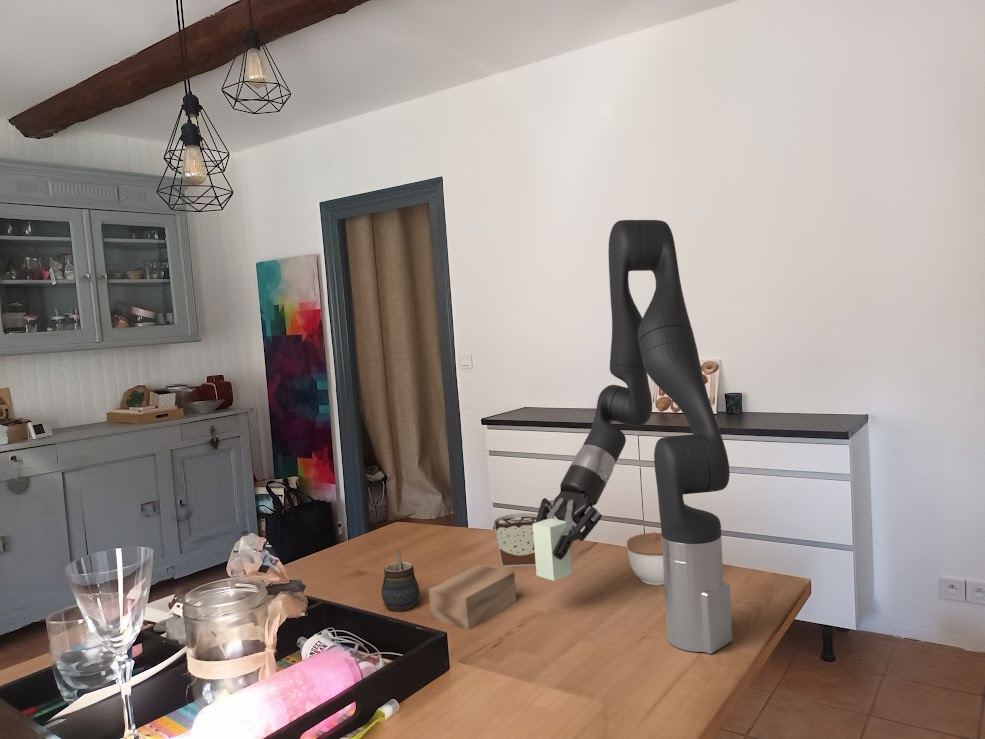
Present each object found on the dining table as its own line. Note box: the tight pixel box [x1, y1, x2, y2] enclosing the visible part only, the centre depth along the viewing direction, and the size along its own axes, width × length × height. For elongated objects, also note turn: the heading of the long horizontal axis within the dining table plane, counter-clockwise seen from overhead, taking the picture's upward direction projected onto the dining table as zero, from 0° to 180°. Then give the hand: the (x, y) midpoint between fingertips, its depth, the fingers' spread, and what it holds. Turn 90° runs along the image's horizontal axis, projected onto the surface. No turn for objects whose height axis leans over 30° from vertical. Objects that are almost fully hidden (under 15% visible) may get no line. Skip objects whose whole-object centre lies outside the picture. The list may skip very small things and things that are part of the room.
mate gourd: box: [380, 549, 421, 612], centre depth 142 cm, size 7×8×10 cm
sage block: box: [533, 518, 573, 582], centre depth 133 cm, size 4×4×10 cm
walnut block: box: [428, 564, 517, 631], centre depth 137 cm, size 9×14×6 cm, turn 141°
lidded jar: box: [626, 531, 664, 586], centre depth 146 cm, size 11×11×9 cm
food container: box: [491, 512, 538, 567], centre depth 162 cm, size 12×6×10 cm, turn 84°
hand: (547, 554), depth 132 cm, fingers closed on sage block, 4 cm apart
